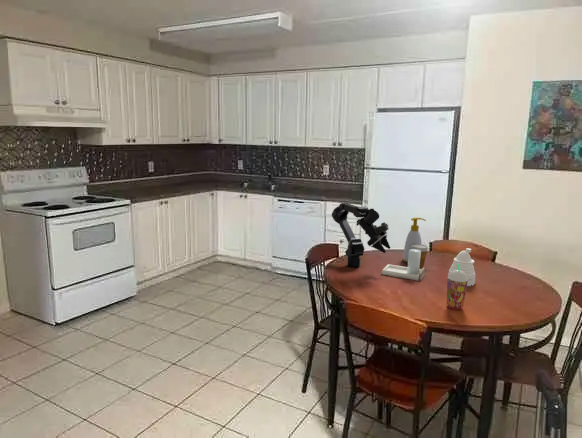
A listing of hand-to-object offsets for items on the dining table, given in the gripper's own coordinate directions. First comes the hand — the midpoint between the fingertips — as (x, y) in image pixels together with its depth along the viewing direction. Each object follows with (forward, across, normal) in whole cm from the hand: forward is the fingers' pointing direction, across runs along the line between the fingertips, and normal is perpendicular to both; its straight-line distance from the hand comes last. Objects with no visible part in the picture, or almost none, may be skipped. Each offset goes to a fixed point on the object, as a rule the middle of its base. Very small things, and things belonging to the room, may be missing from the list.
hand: (387, 250), depth 225 cm
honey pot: (+36, +10, -16) cm, 41 cm away
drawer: (+15, +6, +4) cm, 17 cm away
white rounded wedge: (+18, +6, 0) cm, 19 cm away
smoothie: (+36, -28, -17) cm, 49 cm away
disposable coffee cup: (+18, +26, +1) cm, 31 cm away
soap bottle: (+15, +34, +5) cm, 37 cm away
